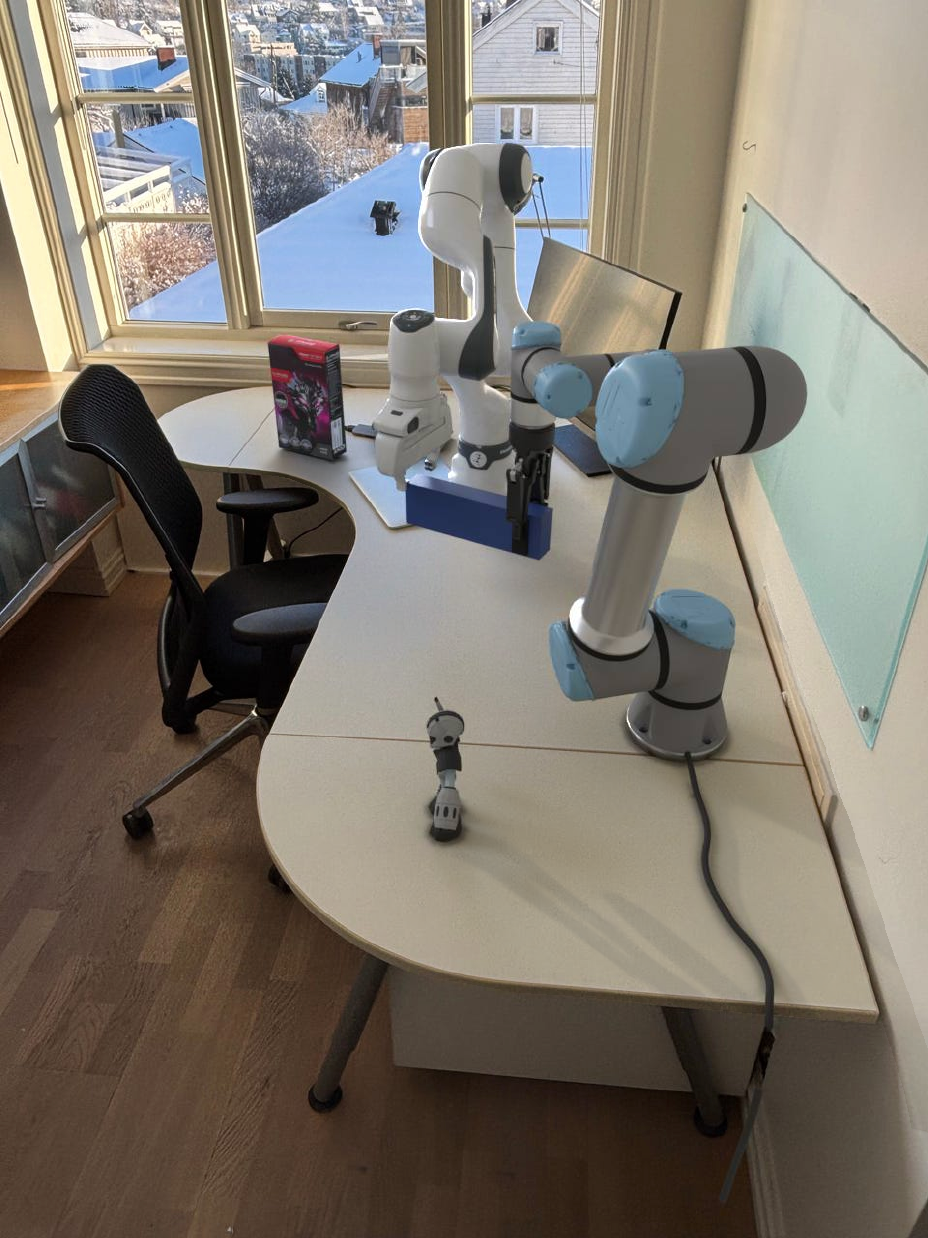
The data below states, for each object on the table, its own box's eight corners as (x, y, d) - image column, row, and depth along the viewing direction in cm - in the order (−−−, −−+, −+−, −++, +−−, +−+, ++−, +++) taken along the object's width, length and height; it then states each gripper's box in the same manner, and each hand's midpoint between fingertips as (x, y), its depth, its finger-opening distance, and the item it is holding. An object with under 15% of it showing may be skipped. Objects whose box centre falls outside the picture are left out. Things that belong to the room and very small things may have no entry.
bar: (550, 549, 163) (553, 507, 158) (539, 560, 160) (541, 518, 155) (418, 513, 174) (418, 473, 169) (406, 523, 171) (404, 482, 166)
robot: (467, 874, 119) (468, 759, 108) (429, 876, 119) (427, 760, 108) (460, 769, 135) (460, 659, 124) (426, 770, 135) (424, 660, 124)
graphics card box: (276, 448, 231) (264, 340, 216) (293, 439, 236) (282, 332, 221) (333, 462, 225) (324, 351, 209) (349, 452, 230) (341, 343, 214)
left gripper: (431, 385, 169) (432, 454, 177) (367, 423, 155) (371, 497, 163) (460, 391, 167) (460, 461, 175) (398, 431, 152) (401, 506, 160)
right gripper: (535, 400, 157) (528, 521, 170) (486, 434, 145) (483, 563, 158) (575, 408, 154) (566, 531, 167) (529, 444, 142) (523, 574, 155)
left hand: (417, 479), depth 169 cm, fingers open, 8 cm apart
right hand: (526, 546), depth 162 cm, fingers closed on bar, 4 cm apart
